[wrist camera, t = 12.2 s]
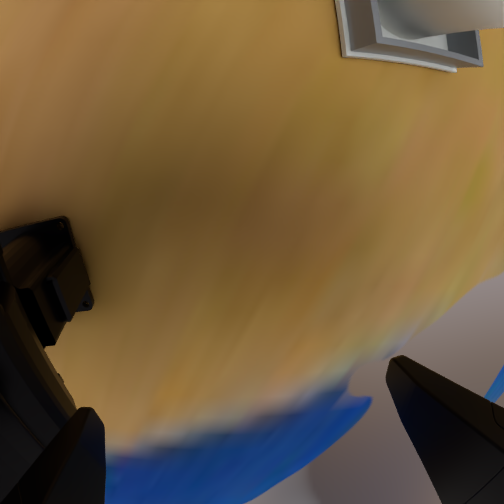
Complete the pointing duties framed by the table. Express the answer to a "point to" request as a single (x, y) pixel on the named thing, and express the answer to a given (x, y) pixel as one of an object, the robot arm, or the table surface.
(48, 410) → the robot arm
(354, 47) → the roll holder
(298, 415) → the table surface
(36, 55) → the table surface
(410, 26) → the paper towel roll
